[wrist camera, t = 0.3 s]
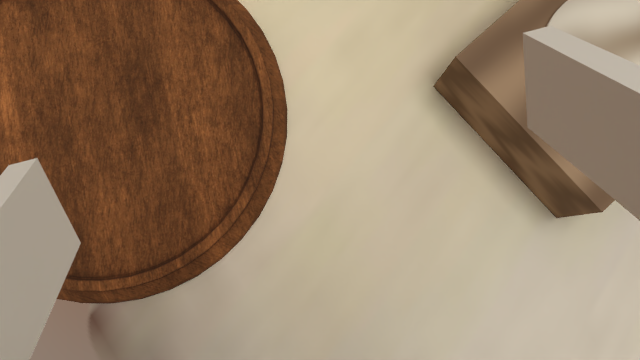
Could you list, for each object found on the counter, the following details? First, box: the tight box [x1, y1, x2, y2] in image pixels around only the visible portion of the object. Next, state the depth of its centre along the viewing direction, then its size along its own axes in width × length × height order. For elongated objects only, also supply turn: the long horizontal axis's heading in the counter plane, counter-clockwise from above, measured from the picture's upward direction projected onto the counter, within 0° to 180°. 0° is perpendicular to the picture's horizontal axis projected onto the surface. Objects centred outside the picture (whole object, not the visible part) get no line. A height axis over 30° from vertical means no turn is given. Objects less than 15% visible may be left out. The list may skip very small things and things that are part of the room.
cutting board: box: [0, 0, 287, 303], centre depth 50 cm, size 32×32×2 cm
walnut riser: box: [434, 0, 640, 218], centre depth 48 cm, size 16×18×9 cm
